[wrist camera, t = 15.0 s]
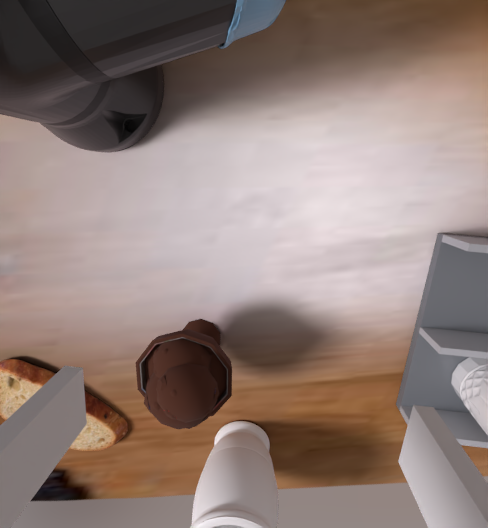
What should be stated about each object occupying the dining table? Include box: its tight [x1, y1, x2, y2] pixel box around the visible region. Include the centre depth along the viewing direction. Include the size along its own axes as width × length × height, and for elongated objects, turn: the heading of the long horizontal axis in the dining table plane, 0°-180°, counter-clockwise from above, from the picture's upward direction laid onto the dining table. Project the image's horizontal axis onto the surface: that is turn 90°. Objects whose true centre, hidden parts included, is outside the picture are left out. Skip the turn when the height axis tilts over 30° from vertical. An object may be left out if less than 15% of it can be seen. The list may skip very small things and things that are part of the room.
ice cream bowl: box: [136, 319, 232, 429], centre depth 37 cm, size 11×11×15 cm
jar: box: [190, 421, 279, 528], centre depth 41 cm, size 11×10×15 cm
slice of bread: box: [0, 359, 128, 451], centre depth 48 cm, size 18×18×4 cm
